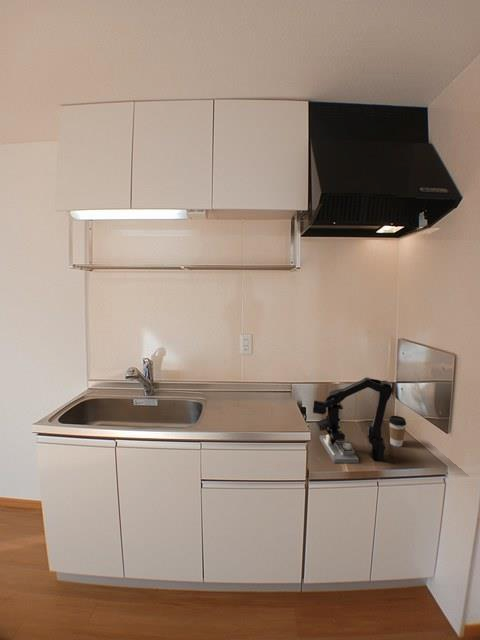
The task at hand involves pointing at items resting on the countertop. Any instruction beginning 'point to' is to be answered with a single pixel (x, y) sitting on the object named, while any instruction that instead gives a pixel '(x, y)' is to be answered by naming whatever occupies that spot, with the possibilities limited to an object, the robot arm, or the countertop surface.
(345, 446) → the grey button
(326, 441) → the slider knob
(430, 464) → the countertop surface
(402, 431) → the coffee cup
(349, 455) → the control panel
